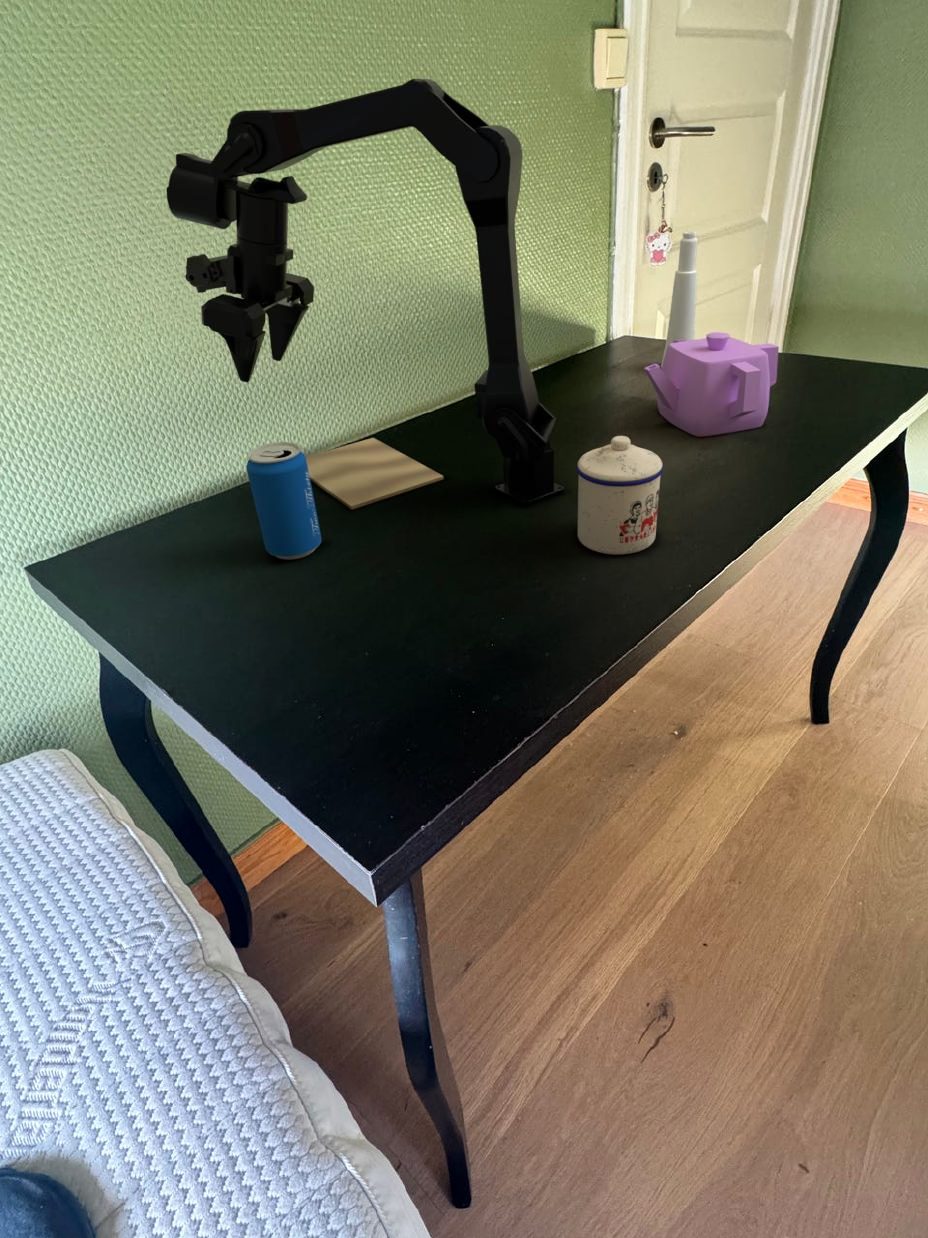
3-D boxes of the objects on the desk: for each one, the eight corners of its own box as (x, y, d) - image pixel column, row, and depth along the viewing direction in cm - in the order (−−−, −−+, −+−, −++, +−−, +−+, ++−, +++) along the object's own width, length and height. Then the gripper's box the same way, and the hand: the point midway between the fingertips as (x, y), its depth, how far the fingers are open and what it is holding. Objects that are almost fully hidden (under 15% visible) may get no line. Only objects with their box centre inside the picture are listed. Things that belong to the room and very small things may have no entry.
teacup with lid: (629, 565, 81) (635, 461, 74) (559, 542, 86) (559, 443, 80) (685, 523, 88) (695, 424, 81) (617, 504, 93) (622, 410, 87)
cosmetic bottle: (701, 365, 138) (716, 230, 125) (682, 374, 134) (695, 235, 122) (673, 360, 141) (684, 228, 129) (653, 368, 138) (663, 233, 126)
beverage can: (310, 563, 86) (290, 463, 79) (257, 561, 87) (233, 462, 80) (330, 537, 91) (312, 440, 84) (280, 535, 92) (258, 440, 86)
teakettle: (753, 444, 106) (766, 353, 99) (635, 430, 113) (640, 344, 106) (778, 406, 118) (792, 322, 111) (670, 395, 125) (676, 316, 118)
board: (443, 479, 103) (443, 475, 103) (351, 509, 97) (351, 506, 97) (373, 440, 117) (373, 437, 117) (289, 465, 111) (288, 461, 111)
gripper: (235, 212, 96) (237, 336, 106) (153, 235, 82) (163, 377, 91) (318, 232, 95) (312, 355, 105) (249, 258, 81) (250, 399, 90)
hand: (261, 370), depth 98 cm, fingers open, 9 cm apart
